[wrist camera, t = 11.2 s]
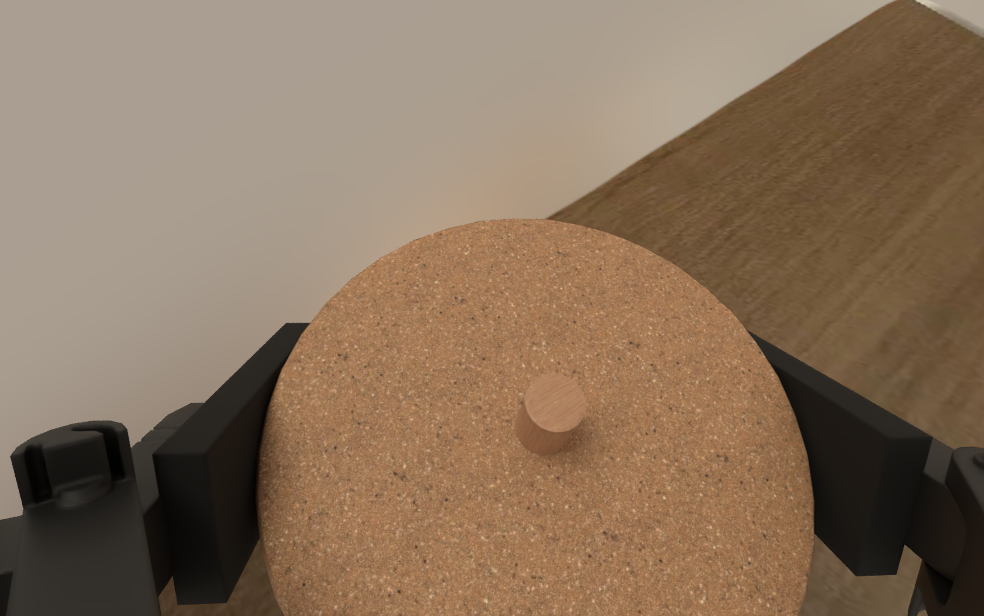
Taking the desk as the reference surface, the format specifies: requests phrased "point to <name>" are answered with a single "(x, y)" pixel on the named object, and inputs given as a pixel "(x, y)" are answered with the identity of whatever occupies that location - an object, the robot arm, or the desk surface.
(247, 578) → the desk surface
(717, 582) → the trinket box
